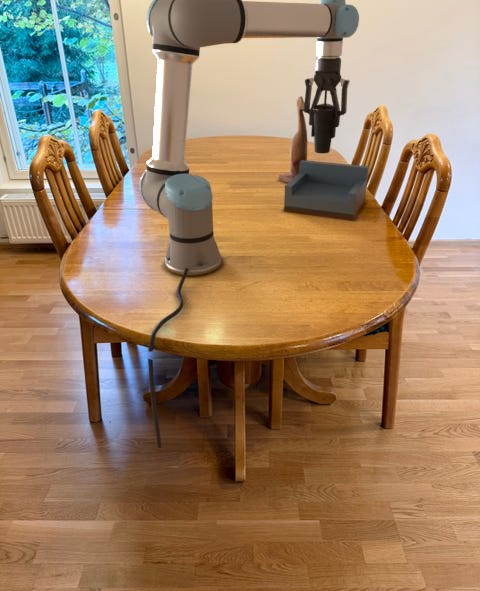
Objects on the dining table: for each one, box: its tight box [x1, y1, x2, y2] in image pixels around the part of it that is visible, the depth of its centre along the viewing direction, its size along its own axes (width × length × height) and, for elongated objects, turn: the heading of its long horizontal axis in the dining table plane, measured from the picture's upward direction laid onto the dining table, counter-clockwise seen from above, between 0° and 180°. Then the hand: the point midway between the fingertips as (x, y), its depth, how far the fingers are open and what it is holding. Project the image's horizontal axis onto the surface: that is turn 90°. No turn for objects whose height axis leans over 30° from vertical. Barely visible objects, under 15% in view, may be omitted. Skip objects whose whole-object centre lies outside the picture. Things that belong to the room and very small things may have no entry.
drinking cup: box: [313, 90, 335, 154], centre depth 155 cm, size 8×8×20 cm
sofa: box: [283, 159, 370, 221], centre depth 168 cm, size 19×24×13 cm
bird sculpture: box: [278, 95, 309, 184], centre depth 190 cm, size 11×12×32 cm
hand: (323, 136), depth 158 cm, fingers closed on drinking cup, 6 cm apart
